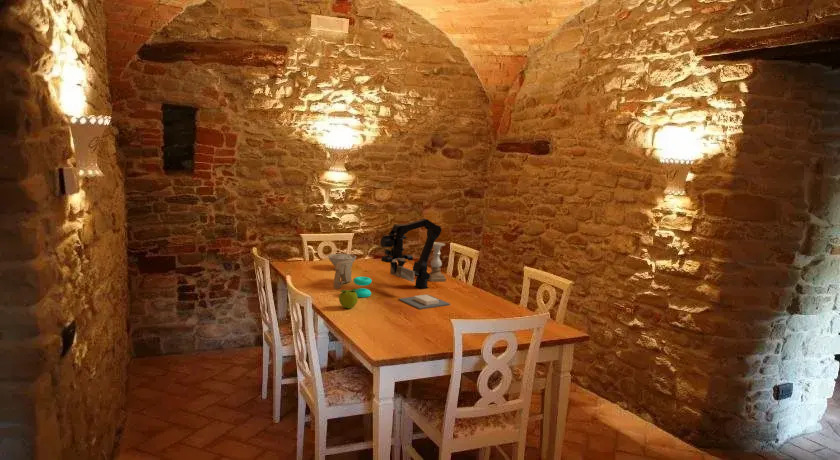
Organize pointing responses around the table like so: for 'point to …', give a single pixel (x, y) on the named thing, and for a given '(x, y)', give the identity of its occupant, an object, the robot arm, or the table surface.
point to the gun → (342, 273)
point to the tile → (426, 299)
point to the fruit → (348, 298)
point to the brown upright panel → (403, 273)
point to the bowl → (341, 258)
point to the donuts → (363, 282)
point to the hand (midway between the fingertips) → (396, 272)
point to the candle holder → (436, 264)
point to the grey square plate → (420, 305)
